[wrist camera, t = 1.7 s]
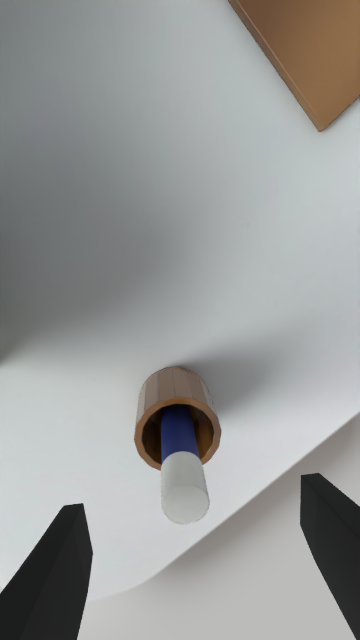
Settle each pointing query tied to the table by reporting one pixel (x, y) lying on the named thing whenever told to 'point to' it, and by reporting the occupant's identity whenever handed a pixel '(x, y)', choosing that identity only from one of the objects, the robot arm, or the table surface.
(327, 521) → the robot arm
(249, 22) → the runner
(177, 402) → the cup
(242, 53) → the table surface
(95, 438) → the table surface
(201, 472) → the marker
